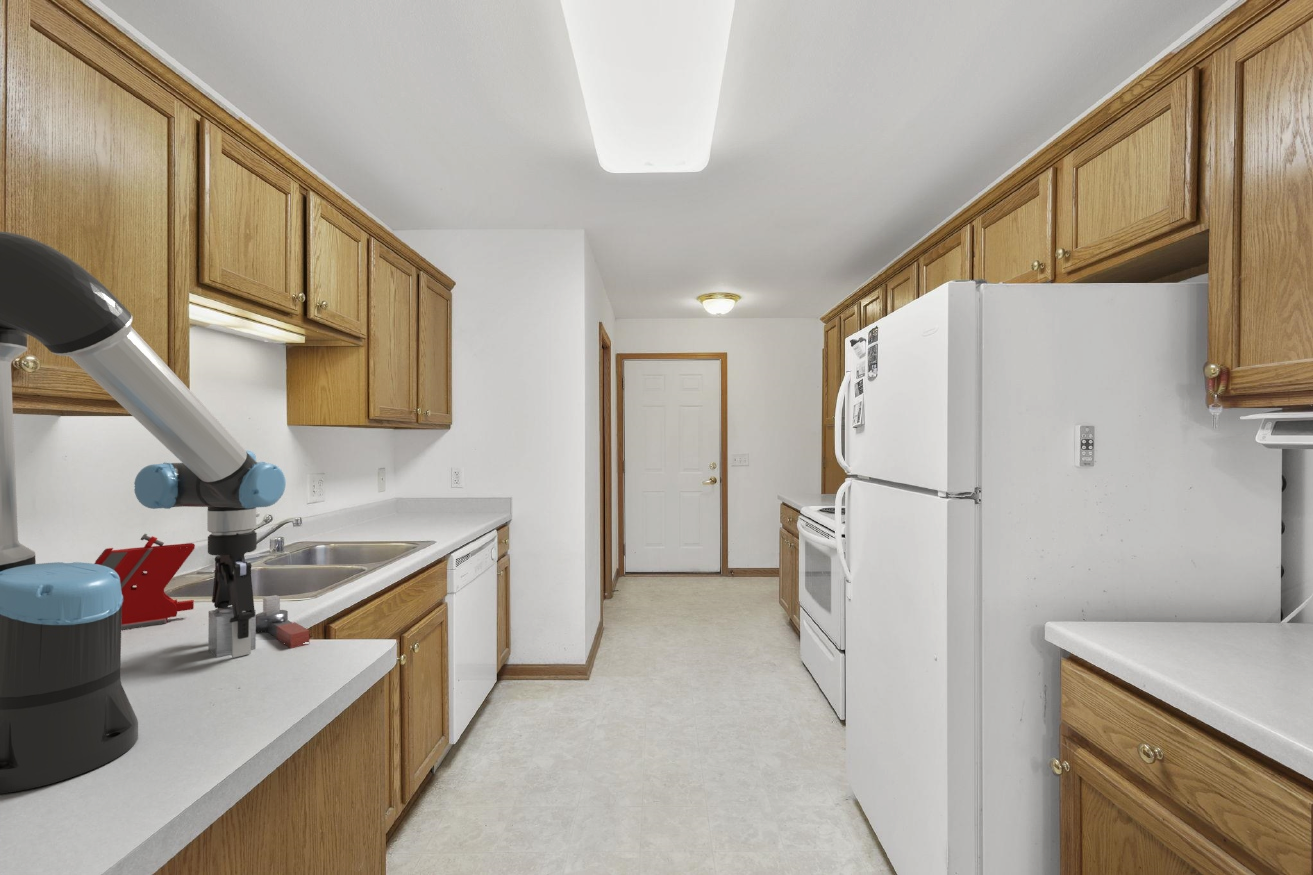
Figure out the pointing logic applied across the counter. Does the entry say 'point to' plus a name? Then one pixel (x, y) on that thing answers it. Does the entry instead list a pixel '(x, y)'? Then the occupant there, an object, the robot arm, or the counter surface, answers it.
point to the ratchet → (280, 624)
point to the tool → (147, 581)
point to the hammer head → (225, 631)
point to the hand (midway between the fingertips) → (232, 647)
